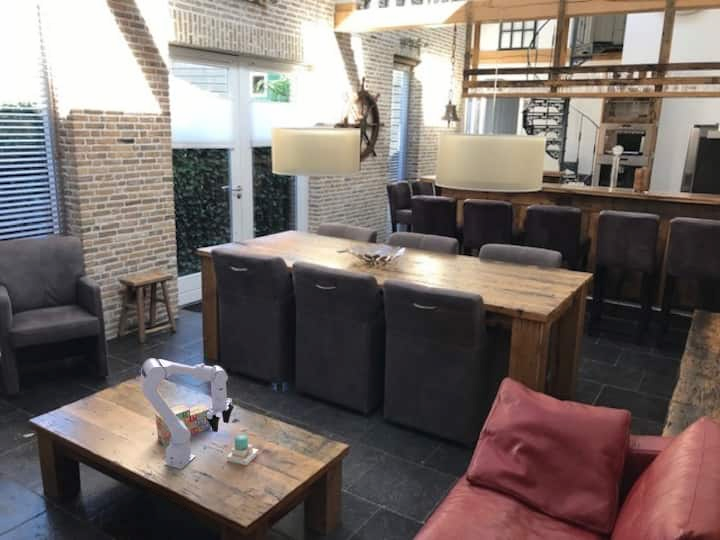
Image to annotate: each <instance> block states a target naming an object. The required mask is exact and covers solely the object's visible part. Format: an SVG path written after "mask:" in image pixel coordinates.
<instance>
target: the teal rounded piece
mask: <svg viewBox="0 0 720 540" xmlns="http://www.w3.org/2000/svg"><path fill="white" fill-rule="evenodd" d="M248 439H249V437H248V436H247V435H246V434H239V435H236V436H235V437H234V447H235V449H236V450H239V451H242V450H245V449H247V448H248V444H249V443H248V442H249V441H248Z"/></svg>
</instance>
